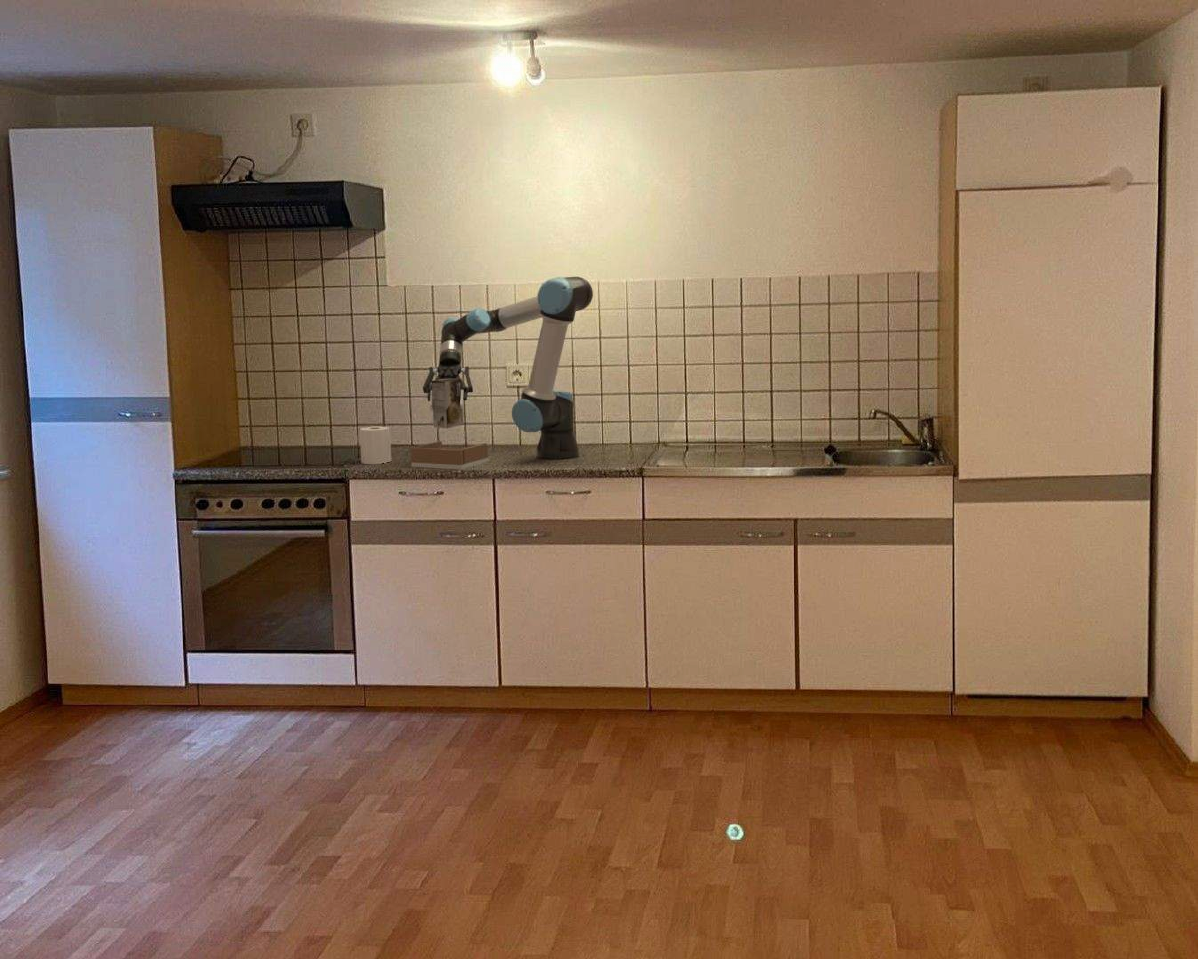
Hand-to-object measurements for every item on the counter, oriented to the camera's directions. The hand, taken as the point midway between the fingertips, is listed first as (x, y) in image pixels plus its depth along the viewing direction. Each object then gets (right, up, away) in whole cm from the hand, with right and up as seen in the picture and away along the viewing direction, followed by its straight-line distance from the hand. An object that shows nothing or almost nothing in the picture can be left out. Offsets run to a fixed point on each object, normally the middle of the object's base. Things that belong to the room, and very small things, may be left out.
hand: (446, 407), depth 499 cm
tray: (+1, -19, +6) cm, 20 cm away
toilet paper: (-26, -19, +15) cm, 35 cm away
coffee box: (0, -7, +4) cm, 8 cm away
